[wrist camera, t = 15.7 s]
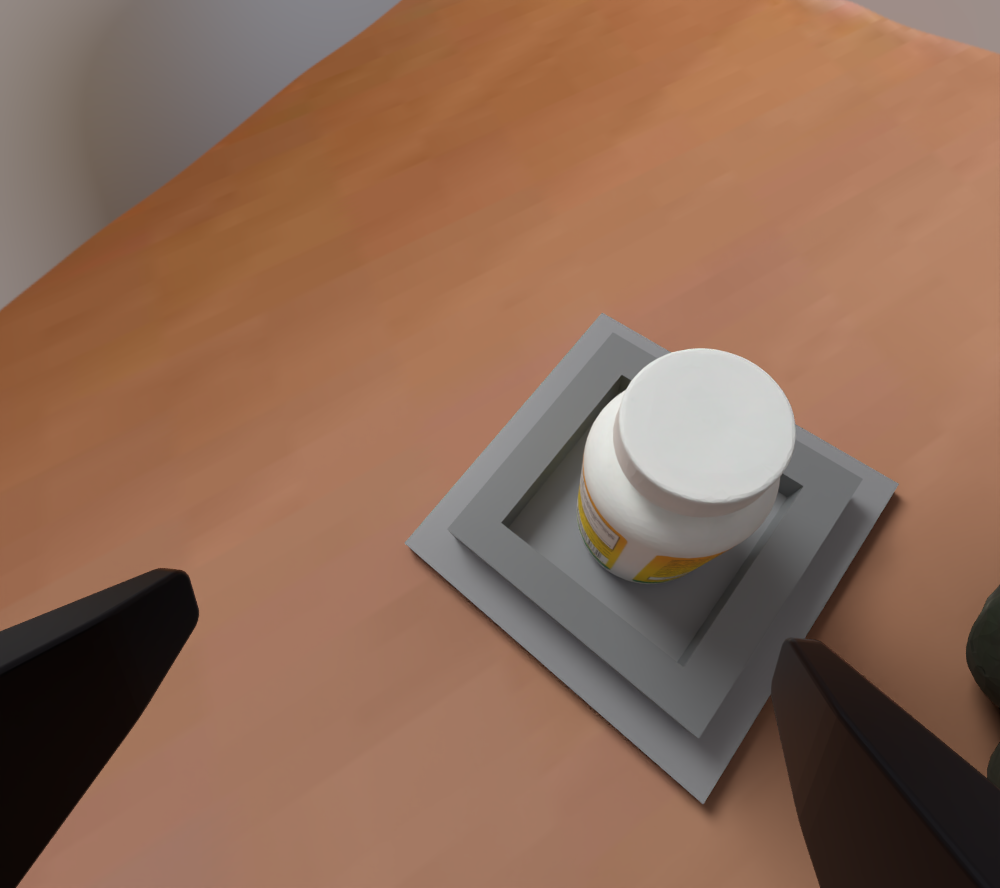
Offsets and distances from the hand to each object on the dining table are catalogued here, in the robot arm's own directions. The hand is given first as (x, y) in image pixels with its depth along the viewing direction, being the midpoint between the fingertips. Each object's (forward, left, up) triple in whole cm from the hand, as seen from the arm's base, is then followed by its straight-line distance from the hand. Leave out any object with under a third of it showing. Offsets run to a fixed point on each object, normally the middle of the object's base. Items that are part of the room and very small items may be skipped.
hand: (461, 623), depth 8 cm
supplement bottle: (+7, -1, -13) cm, 15 cm away
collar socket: (+7, -1, -14) cm, 15 cm away
